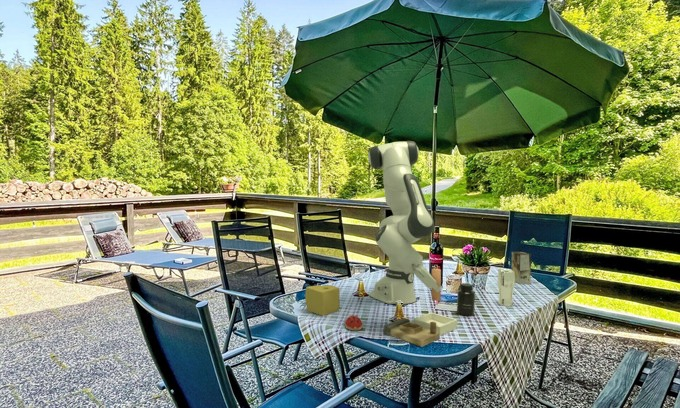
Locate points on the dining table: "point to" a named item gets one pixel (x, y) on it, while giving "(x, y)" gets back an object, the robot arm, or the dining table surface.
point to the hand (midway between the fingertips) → (437, 288)
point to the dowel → (437, 276)
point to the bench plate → (411, 332)
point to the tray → (437, 322)
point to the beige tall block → (506, 286)
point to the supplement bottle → (466, 300)
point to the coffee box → (521, 267)
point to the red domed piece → (353, 323)
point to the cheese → (322, 299)
